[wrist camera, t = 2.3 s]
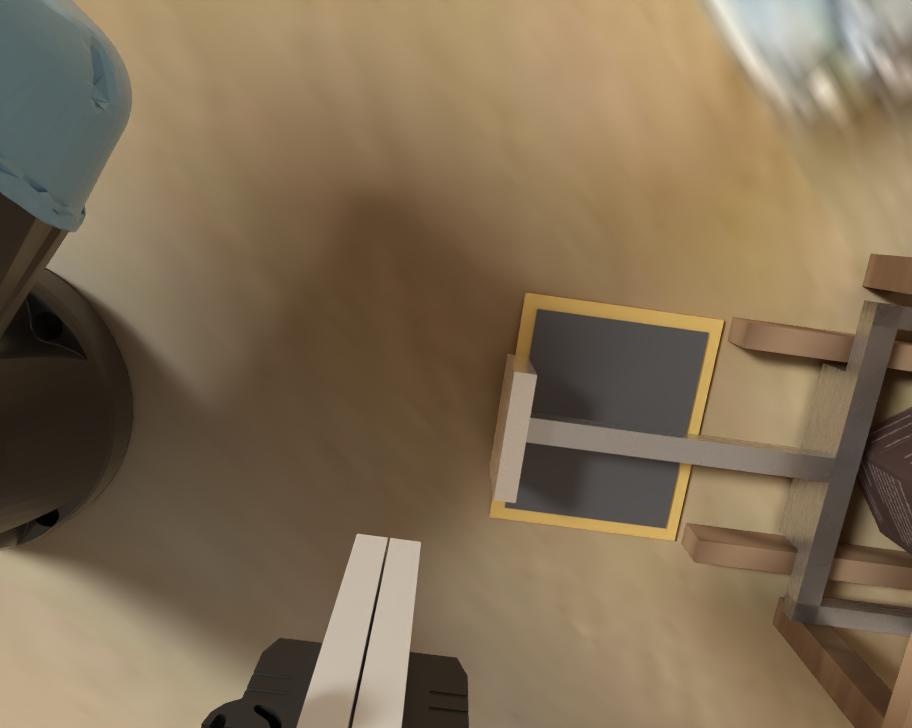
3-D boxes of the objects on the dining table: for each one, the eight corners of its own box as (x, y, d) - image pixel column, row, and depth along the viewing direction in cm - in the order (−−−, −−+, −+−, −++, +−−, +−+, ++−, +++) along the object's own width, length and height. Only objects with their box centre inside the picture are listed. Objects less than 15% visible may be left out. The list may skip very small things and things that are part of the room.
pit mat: (489, 515, 36) (489, 518, 36) (525, 292, 33) (525, 293, 33) (673, 539, 36) (675, 542, 36) (722, 319, 34) (725, 320, 33)
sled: (474, 551, 36) (477, 599, 31) (522, 250, 33) (533, 256, 28) (1003, 619, 37) (1079, 675, 32) (1102, 333, 34) (1203, 350, 29)
